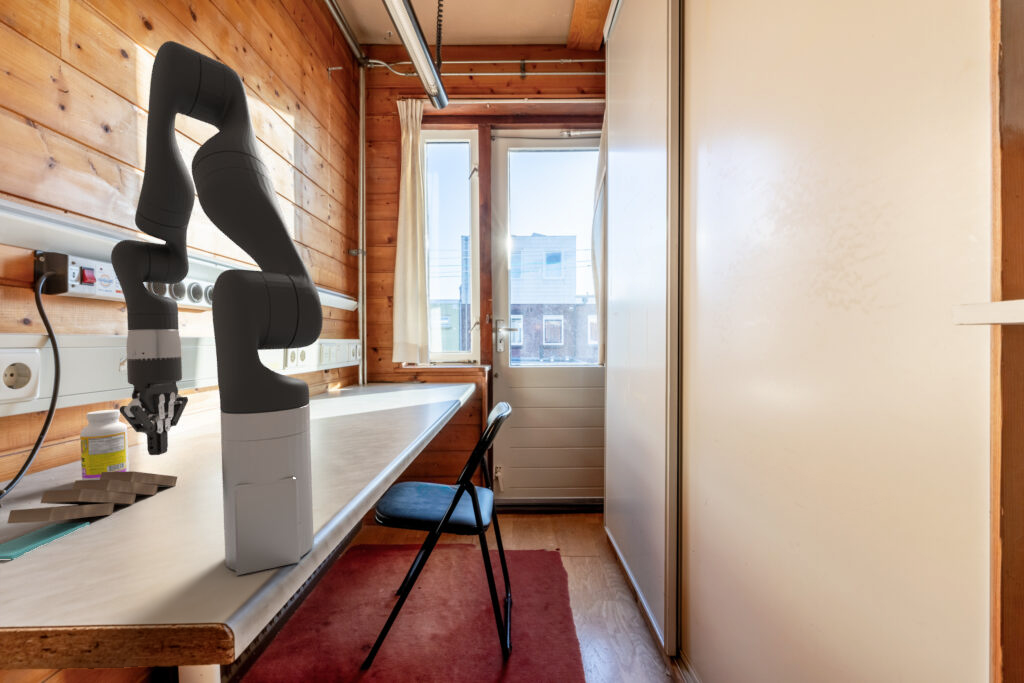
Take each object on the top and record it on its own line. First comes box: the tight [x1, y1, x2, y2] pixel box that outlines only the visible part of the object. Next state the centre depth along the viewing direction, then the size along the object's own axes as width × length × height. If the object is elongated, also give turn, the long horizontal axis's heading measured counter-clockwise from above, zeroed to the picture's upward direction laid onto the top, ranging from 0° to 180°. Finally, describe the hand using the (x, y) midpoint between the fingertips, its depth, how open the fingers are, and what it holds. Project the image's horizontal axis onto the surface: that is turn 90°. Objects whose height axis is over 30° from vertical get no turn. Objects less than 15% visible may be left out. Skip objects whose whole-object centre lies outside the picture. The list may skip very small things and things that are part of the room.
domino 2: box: [0, 521, 90, 560], centre depth 58 cm, size 2×5×10 cm
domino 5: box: [100, 470, 178, 487], centre depth 75 cm, size 2×5×10 cm
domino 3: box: [40, 488, 137, 506], centre depth 66 cm, size 2×5×10 cm
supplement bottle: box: [79, 409, 130, 480], centre depth 85 cm, size 7×7×13 cm
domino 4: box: [72, 479, 159, 497], centre depth 71 cm, size 2×5×10 cm
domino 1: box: [6, 503, 115, 524], centre depth 62 cm, size 2×5×10 cm
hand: (158, 453), depth 79 cm, fingers closed
